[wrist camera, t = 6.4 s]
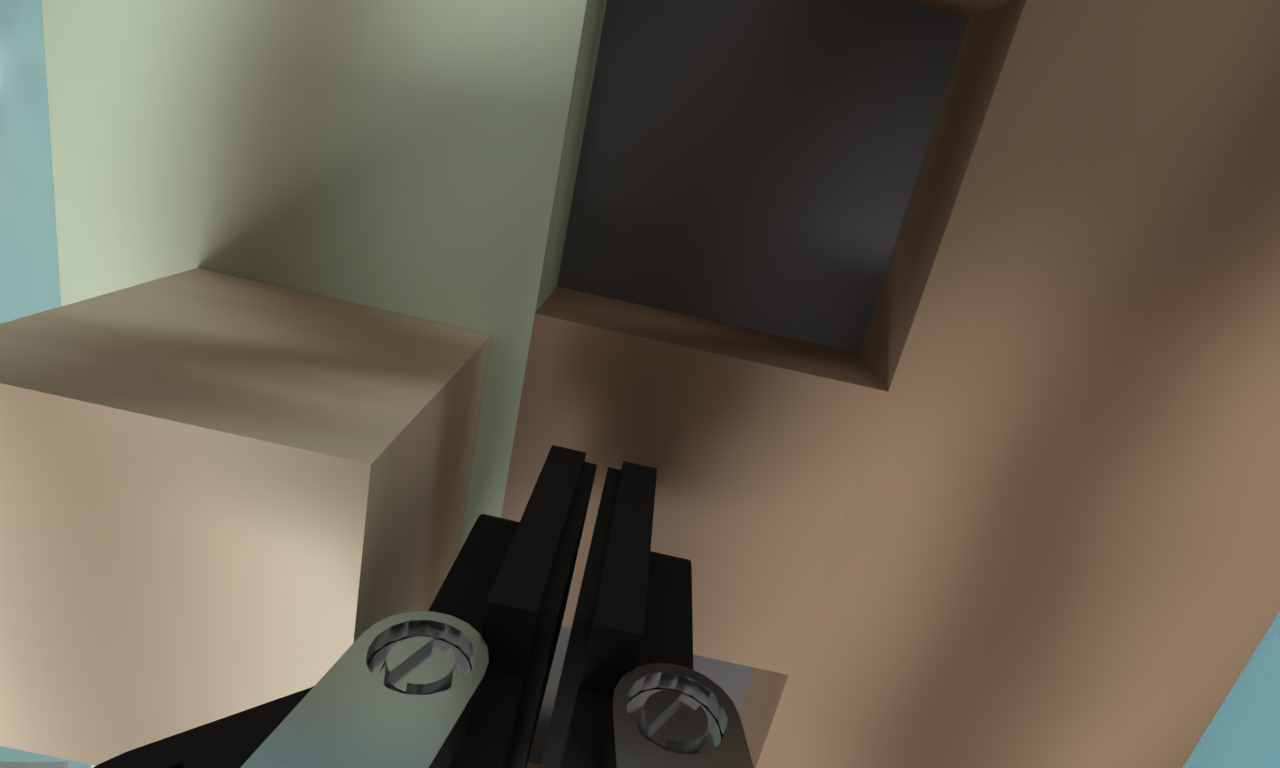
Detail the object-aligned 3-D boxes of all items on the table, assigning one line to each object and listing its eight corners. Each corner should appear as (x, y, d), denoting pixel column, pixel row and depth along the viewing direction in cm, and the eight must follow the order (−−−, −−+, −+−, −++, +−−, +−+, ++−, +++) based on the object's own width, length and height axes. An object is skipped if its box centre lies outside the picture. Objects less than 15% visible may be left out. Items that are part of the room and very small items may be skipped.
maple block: (492, 334, 12) (370, 464, 7) (454, 581, 14) (336, 816, 9) (196, 268, 12) (-118, 357, 7) (194, 524, 14) (-61, 733, 9)
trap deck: (1447, 61, 12) (1629, 45, 10) (1000, 881, 19) (1045, 989, 17) (153, -237, 12) (20, -328, 9) (167, 705, 19) (91, 789, 16)
